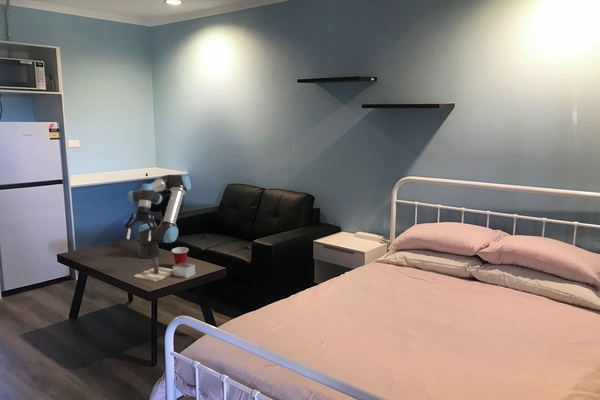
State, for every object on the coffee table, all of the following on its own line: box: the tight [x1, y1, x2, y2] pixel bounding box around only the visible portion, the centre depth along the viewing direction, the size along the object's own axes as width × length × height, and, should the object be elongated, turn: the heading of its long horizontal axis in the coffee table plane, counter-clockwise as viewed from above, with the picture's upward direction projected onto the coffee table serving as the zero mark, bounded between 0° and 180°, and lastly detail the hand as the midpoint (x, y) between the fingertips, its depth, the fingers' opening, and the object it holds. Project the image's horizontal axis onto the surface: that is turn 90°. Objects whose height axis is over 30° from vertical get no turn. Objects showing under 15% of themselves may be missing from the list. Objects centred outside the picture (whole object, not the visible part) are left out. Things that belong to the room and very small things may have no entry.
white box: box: [172, 262, 196, 279], centre depth 298 cm, size 8×11×6 cm
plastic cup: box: [171, 246, 189, 265], centre depth 313 cm, size 11×11×12 cm
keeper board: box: [133, 256, 173, 282], centre depth 298 cm, size 20×18×12 cm
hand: (138, 239), depth 300 cm, fingers open, 13 cm apart
